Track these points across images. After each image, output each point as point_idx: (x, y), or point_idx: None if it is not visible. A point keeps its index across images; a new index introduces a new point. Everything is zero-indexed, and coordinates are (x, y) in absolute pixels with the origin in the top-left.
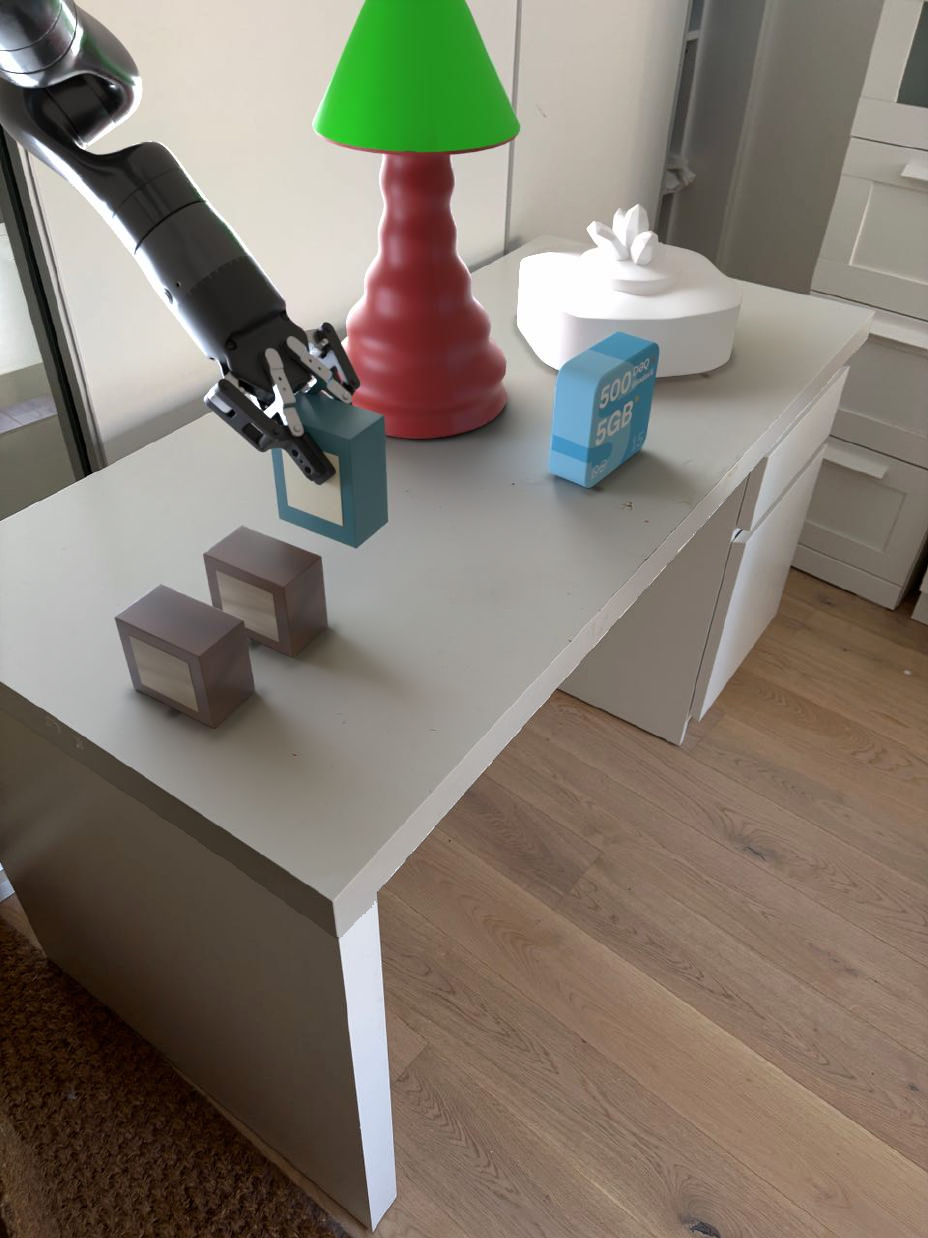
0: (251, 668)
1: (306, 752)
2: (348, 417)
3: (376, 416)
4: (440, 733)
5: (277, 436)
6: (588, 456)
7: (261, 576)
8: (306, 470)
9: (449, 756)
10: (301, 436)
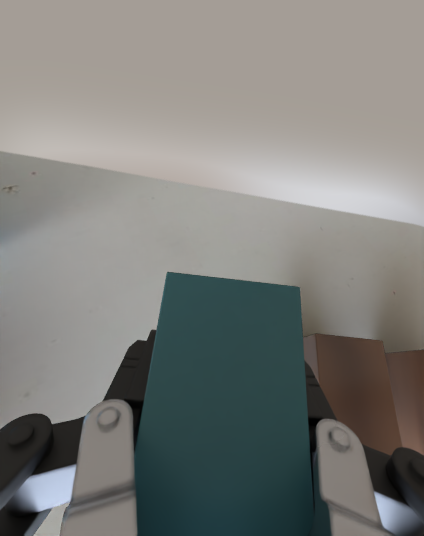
0: (394, 352)
1: (387, 287)
2: (215, 342)
3: (181, 284)
4: (320, 223)
5: (417, 457)
6: None
7: (388, 377)
8: None
9: (332, 213)
10: (312, 429)
